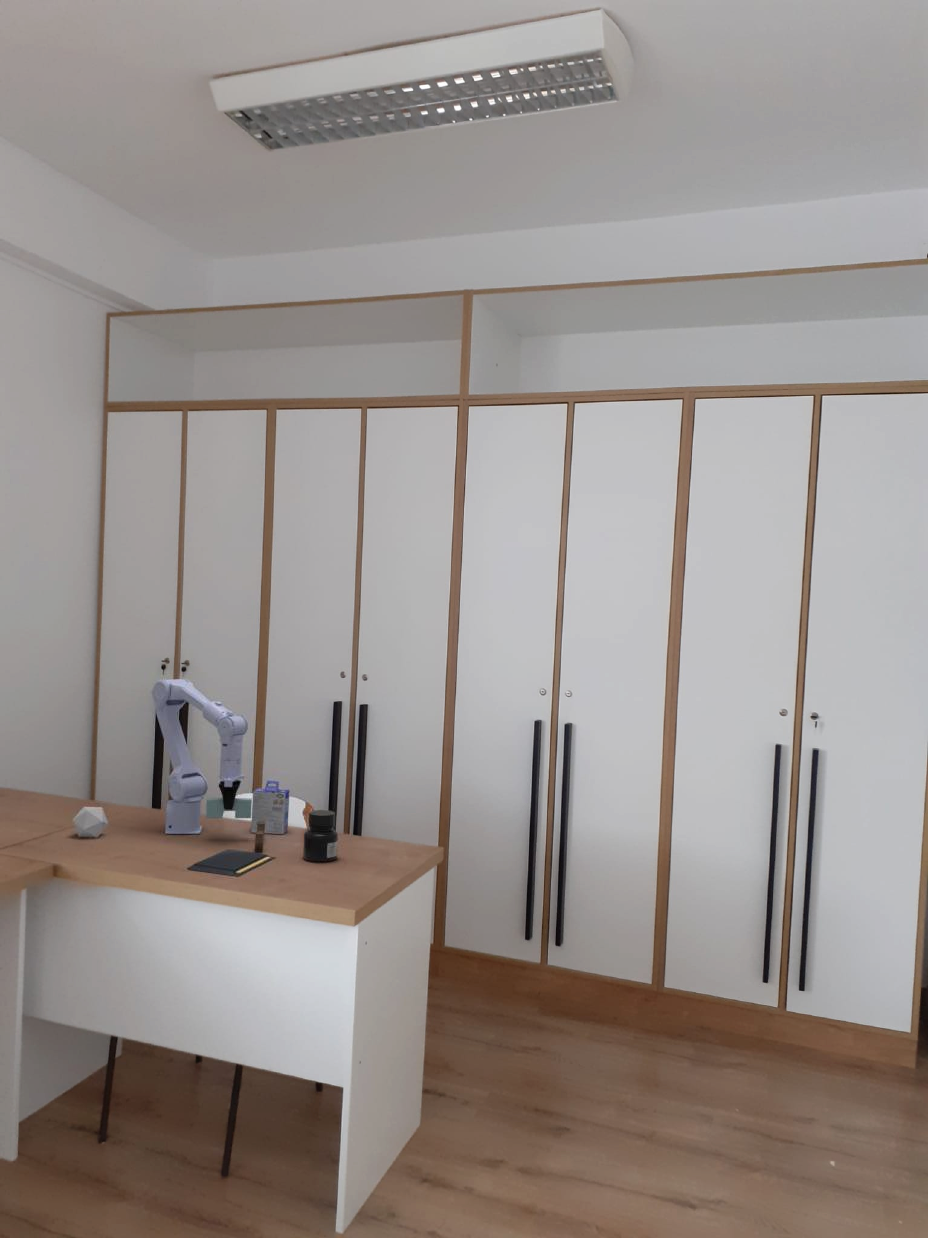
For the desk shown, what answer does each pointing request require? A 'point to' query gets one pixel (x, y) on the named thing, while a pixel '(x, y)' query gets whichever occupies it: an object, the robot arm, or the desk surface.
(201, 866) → the wallet
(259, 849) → the rail
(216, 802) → the teal curved block
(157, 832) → the desk surface
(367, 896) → the desk surface
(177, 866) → the desk surface
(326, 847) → the ink bottle
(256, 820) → the ink cartridge box
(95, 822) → the die
